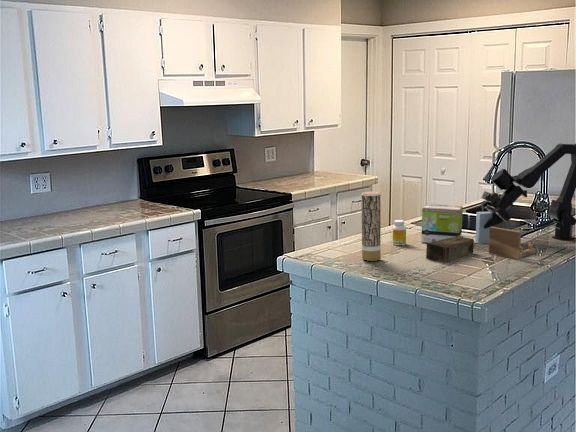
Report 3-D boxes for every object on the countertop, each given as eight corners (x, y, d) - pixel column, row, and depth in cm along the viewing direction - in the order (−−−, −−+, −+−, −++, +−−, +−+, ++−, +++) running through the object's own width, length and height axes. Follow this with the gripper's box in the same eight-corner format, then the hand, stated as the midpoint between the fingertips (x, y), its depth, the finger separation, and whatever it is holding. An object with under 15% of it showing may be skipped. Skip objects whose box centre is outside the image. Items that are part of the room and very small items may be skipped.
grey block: (487, 240, 249) (488, 211, 247) (491, 242, 246) (492, 213, 243) (475, 240, 249) (476, 212, 247) (478, 243, 246) (479, 213, 243)
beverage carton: (474, 254, 230) (475, 237, 229) (442, 264, 219) (442, 246, 217) (457, 250, 236) (457, 233, 235) (424, 259, 225) (425, 242, 224)
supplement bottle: (405, 246, 245) (406, 222, 243) (392, 245, 246) (392, 222, 244) (406, 242, 250) (406, 219, 248) (392, 242, 251) (392, 219, 249)
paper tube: (369, 263, 222) (368, 195, 217) (358, 259, 228) (357, 192, 223) (384, 260, 225) (384, 193, 220) (373, 256, 231) (373, 191, 226)
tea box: (421, 243, 249) (421, 207, 246) (425, 237, 258) (425, 203, 255) (459, 245, 243) (460, 208, 240) (462, 239, 252) (462, 204, 249)
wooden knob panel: (508, 247, 237) (509, 222, 235) (537, 253, 228) (538, 226, 226) (488, 253, 230) (489, 227, 228) (517, 259, 220) (518, 232, 218)
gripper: (486, 181, 252) (459, 208, 254) (504, 187, 234) (474, 217, 236) (504, 199, 254) (477, 226, 256) (523, 207, 236) (494, 236, 237)
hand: (480, 225), depth 246 cm, fingers open, 8 cm apart
